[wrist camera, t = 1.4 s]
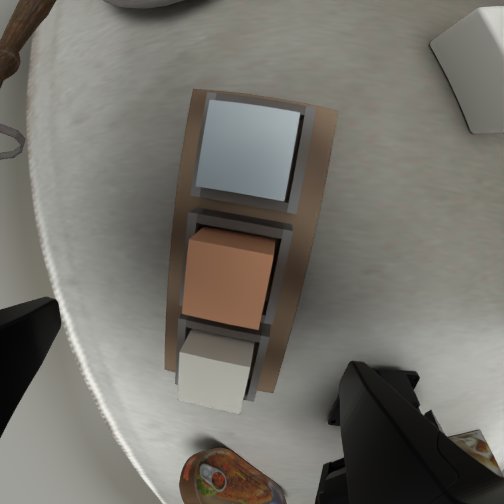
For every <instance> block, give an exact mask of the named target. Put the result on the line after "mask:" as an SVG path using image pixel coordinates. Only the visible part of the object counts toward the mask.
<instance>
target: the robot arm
mask: <svg viewBox="0 0 504 504" xmlns="http://www.w3.org/2000/svg"><path fill="white" fill-rule="evenodd" d="M60 327H61V317H60V311H59V304H58V302H57V300H56V299H53V298H50V297H43V298H39V299H36V300H32V301H28V302H25V303H22V304H18V305H15V306H12V307H8V308H5V309H1V310H0V438H1V435H2V434H3V432H4V430H5V428H6V426H7V424H8V422H9V420H10V418H11V416H12V414H13V413H14V411H15V409H16V407H17V405H18V404H19V402H20V400H21V398H22V397H23V395H24V393H25V391H26V390H27V388H28V386H29V385H30V383H31V381H32V379H33V378H34V376H35V375H36V373H37V371H38V370H39V368H40V366H41V365H42V363H43V361H44V359H45V357H46V355H47V353H48V351H49V349H50V347H51V345H52V343H53V341H54V339H55V337H56V335H57V333H58V331H59V329H60ZM413 378H414V379H413ZM419 379H420V377H419V375H418V373H416V372H404V371H393V370H381V369H379V370H375V369H371V368H370V367H369V366H368V365H367V364H366V363H364V362H361V361H351V362H350V363H349V364H348V366H347V368H346V370H345V372H344V374H343V376H342V379H341V381H340V385H339V396H338V398H337V400H336V402H335V404H334V406H333V408H332V410H331V413H330V415H329V417H328V419H327V420H328V424H329V425H335V426H340V427H341V437H342V445H343V452H344V457H343V458H341V459H339V460H336V461H334V462H329V463H326V464H324V465H323V469H322V474H321V478H320V483H319V487H318V491H317V496H316V500H315V504H504V478H503V477H501V476H499V475H497V474H496V473H494V472H493V471H492V470H490V469H489V468H487V467H486V466H485V465H483V464H482V463H480V462H479V461H478V460H476V459H475V458H474V457H472V456H471V455H470V454H468V453H467V452H466V451H464V450H463V449H462V448H460V447H459V446H458V445H457V444H455V443H454V442H453V441H452V440H451V439H450V438H448V437H447V436H446V435H445V433H444V432H443V430H442V428H441V426H440V424H439V423H438V421H437V419H436V417H435V416H434V414H433V412H432V410H430V411H428V412H427V413H425V415H422V414H421V412H420V409H419V406H420V403H419V401H418V398H417V396H416V394H415V392H414V388H415V386H416V385H417V383H418V381H419Z"/></svg>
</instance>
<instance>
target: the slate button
mask: <svg viewBox="0 0 504 504" xmlns="http://www.w3.org/2000/svg"><path fill="white" fill-rule="evenodd" d="M299 117H300V113H299V112H294V111H288V110H283V109H277V108H271V107H264V106H258V105H251V104H243V103H235V102H227V101H217V100H210V101H209V106H208V112H207V117H206V123H205V129H204V135H203V141H202V147H201V153H200V160H199V166H198V173H197V180H196V187H203V188H209V189H216V190H222V191H228V192H234V193H240V194H246V195H251V196H257V197H262V198H268V199H273V200H279V201H284V200H285V195H286V190H287V184H288V179H289V173H290V168H291V162H292V157H293V151H294V146H295V140H296V134H297V129H298V123H299Z"/></svg>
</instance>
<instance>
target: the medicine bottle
mask: <svg viewBox="0 0 504 504" xmlns="http://www.w3.org/2000/svg"><path fill="white" fill-rule="evenodd" d="M430 46H431V48H432V50H433V52H434V54H435V55H436V57H437V59H438V61H439V63H440V65H441V66H442V68H443V70H444V72H445V74H446V76H447V78H448V80H449V82H450V84H451V86H452V89H453V91H454V93H455V95H456V97H457V99H458V102H459V104H460V106H461V109H462V111H463V113H464V116H465V118H466V121H467V123H468V126H469V129H470V131H471V132H472V133H473V134H483V133H499V132H504V6H493V7H479V8H477V9H476V10H474V11H473V12H471V13H470V14H468V15H467V16H466V17H464V18H463V19H461V20H460V21H459V22H457V23H456V24H454V25H453V26H452V27H450V28H449V29H447V30H446V31H445V32H443V33H442V34H440V35H439V36H438V37H436V38H435V39H434V40H432V41H431V42H430Z"/></svg>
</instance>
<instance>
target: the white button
mask: <svg viewBox="0 0 504 504" xmlns="http://www.w3.org/2000/svg"><path fill="white" fill-rule="evenodd" d="M254 343H255V342H254V341H249V340H244V339H239V338H234V337H229V336H224V335H219V334H215V333H210V332H206V331H201V330H197V329H193V328H192V329H191V331H190V333H189V335H188V337H187V339H186V341H185V342H184V344H183V346H182V348H181V350H180V353H179V374H178V400H180V401H184V402H188V403H192V404H196V405H200V406H204V407H208V408H213V409H217V410H222V411H227V412H232V413H237V414H240V412H241V407H242V403H243V398H244V394H245V389H246V385H247V381H248V376H249V371H250V367H251V361H252V355H253V349H254Z"/></svg>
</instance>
